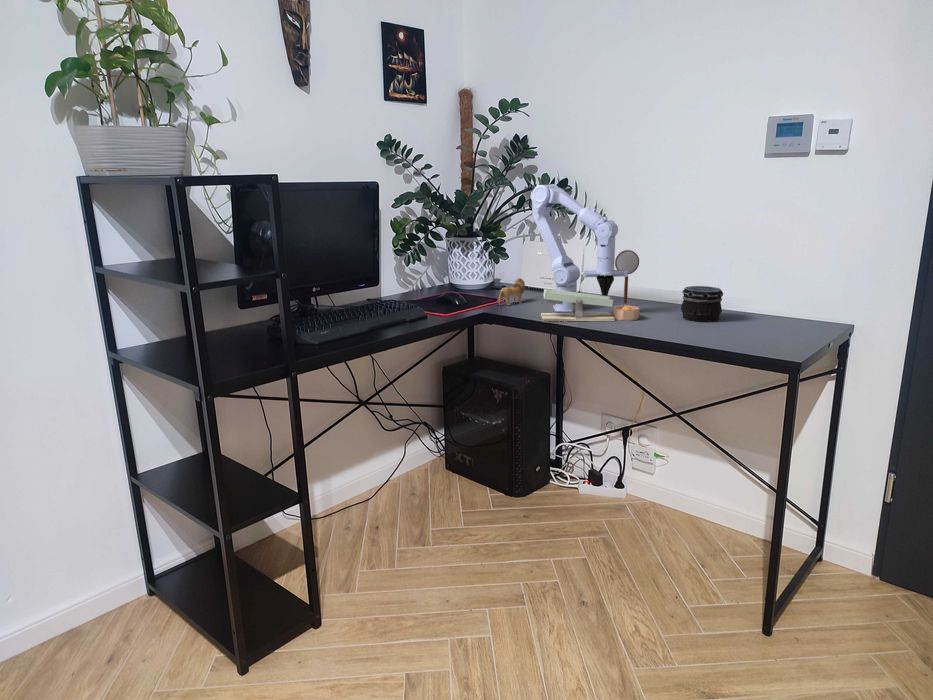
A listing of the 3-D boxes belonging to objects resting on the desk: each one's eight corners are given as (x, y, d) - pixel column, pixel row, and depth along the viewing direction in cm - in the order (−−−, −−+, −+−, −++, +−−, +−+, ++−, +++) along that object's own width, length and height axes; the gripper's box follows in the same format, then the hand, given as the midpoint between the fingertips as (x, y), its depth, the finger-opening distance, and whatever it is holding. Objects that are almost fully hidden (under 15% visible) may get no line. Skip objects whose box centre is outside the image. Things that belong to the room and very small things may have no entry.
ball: (629, 303, 219) (632, 313, 220) (619, 307, 220) (622, 317, 220) (631, 305, 216) (634, 315, 217) (621, 309, 216) (624, 319, 217)
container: (716, 314, 222) (719, 285, 219) (725, 323, 210) (727, 292, 207) (677, 314, 224) (679, 284, 221) (683, 322, 211) (685, 291, 209)
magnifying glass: (614, 306, 237) (616, 250, 232) (612, 305, 239) (614, 250, 234) (637, 306, 238) (640, 250, 233) (636, 305, 240) (639, 249, 234)
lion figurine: (516, 300, 252) (516, 277, 250) (528, 301, 249) (528, 278, 247) (493, 306, 242) (493, 282, 239) (505, 308, 238) (505, 283, 236)
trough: (541, 295, 227) (542, 285, 226) (607, 303, 227) (609, 293, 226) (544, 302, 215) (545, 292, 214) (613, 310, 215) (615, 300, 214)
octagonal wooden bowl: (611, 315, 223) (611, 305, 222) (635, 315, 223) (635, 305, 222) (615, 320, 215) (616, 310, 214) (640, 320, 215) (641, 310, 214)
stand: (540, 315, 225) (541, 294, 223) (609, 314, 224) (609, 293, 222) (543, 322, 214) (543, 300, 213) (615, 321, 214) (615, 299, 212)
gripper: (585, 259, 217) (584, 300, 221) (630, 259, 217) (628, 299, 220) (582, 257, 224) (581, 296, 227) (625, 256, 223) (624, 296, 227)
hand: (604, 298), depth 224 cm, fingers closed, pressing on trough
